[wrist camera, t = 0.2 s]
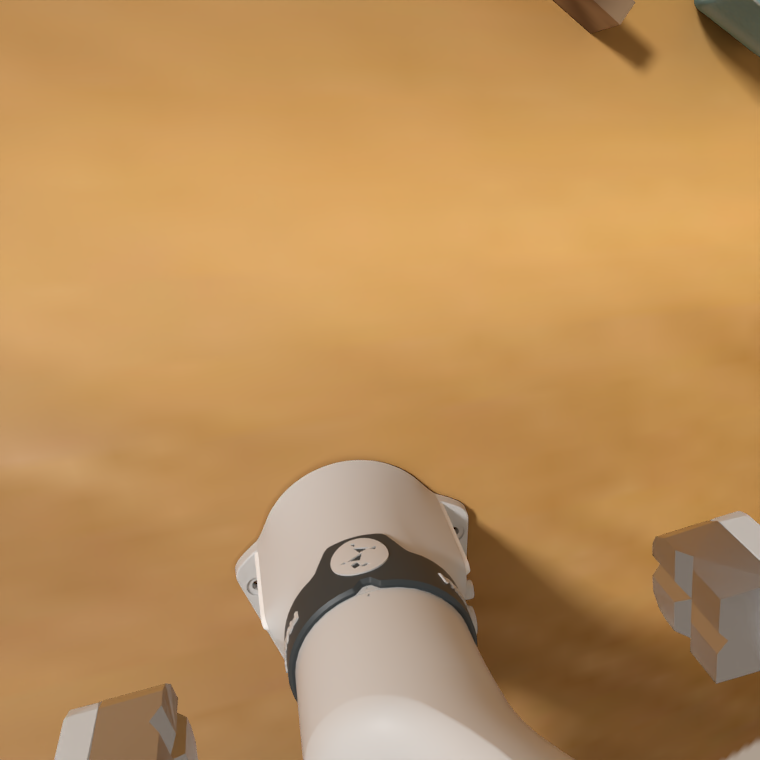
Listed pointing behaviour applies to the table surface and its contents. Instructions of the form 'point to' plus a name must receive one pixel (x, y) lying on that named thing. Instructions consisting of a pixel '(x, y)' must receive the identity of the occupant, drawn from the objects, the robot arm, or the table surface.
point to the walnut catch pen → (597, 12)
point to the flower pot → (735, 19)
